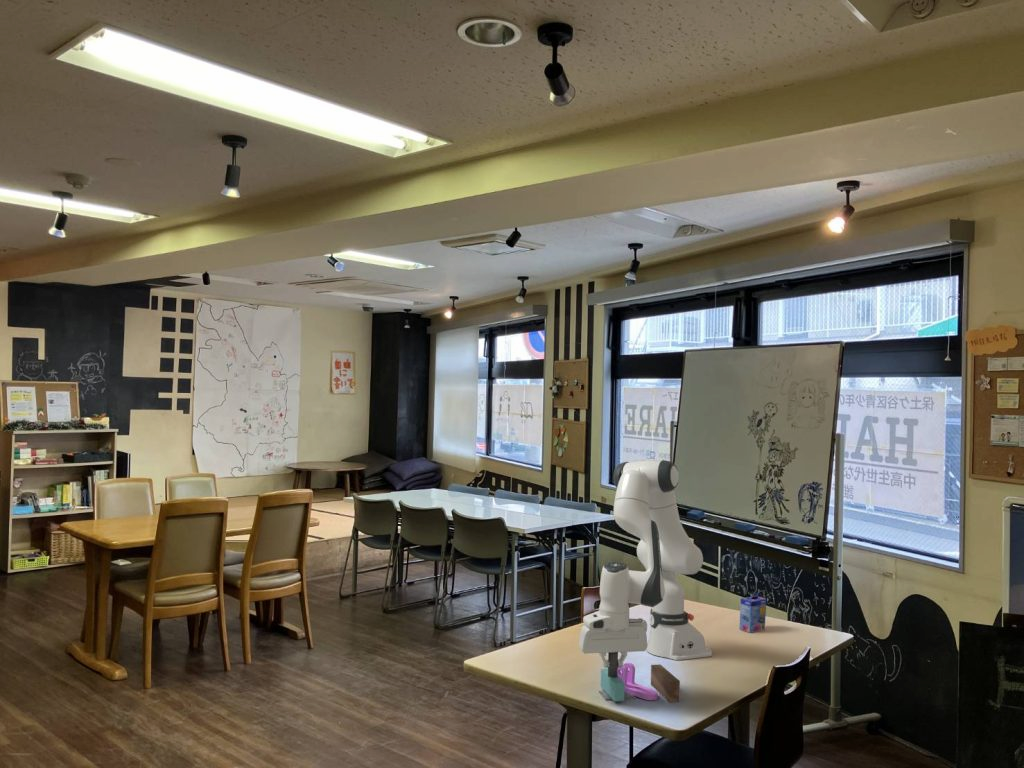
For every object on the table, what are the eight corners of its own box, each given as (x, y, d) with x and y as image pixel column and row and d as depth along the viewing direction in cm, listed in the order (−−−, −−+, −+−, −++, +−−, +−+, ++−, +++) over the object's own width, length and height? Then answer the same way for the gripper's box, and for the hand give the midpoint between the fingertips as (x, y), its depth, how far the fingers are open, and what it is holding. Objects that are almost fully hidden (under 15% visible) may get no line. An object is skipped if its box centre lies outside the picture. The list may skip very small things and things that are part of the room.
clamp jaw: (610, 685, 225) (611, 645, 225) (624, 700, 213) (625, 658, 213) (600, 685, 224) (601, 645, 224) (614, 701, 212) (615, 658, 213)
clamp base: (659, 684, 229) (660, 664, 229) (679, 702, 215) (679, 681, 215) (594, 687, 225) (595, 667, 225) (610, 705, 211) (610, 684, 211)
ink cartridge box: (750, 633, 285) (751, 595, 286) (738, 629, 290) (739, 592, 290) (766, 629, 291) (767, 592, 291) (754, 626, 295) (755, 589, 296)
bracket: (613, 687, 223) (615, 664, 223) (623, 684, 227) (625, 660, 227) (651, 701, 214) (653, 677, 215) (661, 697, 219) (662, 673, 219)
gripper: (643, 615, 224) (642, 661, 224) (578, 617, 220) (576, 664, 220) (651, 621, 218) (650, 669, 218) (584, 623, 214) (583, 672, 214)
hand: (612, 666), depth 219 cm, fingers closed on clamp jaw, 3 cm apart
